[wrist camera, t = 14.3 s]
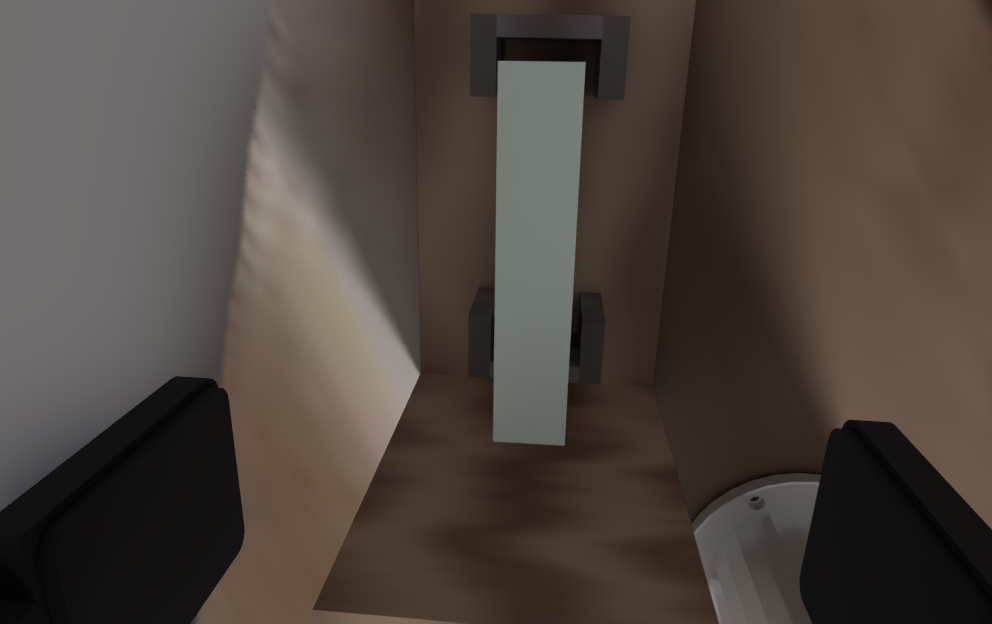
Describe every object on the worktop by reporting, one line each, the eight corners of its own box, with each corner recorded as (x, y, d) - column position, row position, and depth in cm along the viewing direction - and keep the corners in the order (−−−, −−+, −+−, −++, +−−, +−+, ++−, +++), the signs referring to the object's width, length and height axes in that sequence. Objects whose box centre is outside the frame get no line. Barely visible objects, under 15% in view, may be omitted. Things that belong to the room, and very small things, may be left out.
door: (577, 62, 30) (586, 62, 18) (564, 319, 34) (565, 445, 23) (521, 61, 30) (497, 60, 19) (515, 316, 34) (492, 441, 23)
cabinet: (696, -62, 29) (882, -234, 12) (646, 399, 37) (718, 685, 20) (419, -64, 30) (235, -227, 13) (426, 386, 38) (315, 648, 21)
